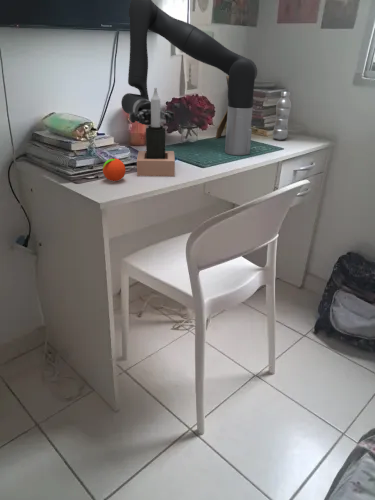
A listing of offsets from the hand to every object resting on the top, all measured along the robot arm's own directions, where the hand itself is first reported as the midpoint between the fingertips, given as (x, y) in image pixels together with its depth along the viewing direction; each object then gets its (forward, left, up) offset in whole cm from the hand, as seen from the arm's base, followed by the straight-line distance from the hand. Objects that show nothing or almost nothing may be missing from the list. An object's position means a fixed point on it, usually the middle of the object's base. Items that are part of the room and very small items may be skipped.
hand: (156, 120), depth 125 cm
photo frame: (-33, -54, -17) cm, 66 cm away
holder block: (0, -1, -16) cm, 17 cm away
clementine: (+13, +10, -17) cm, 24 cm away
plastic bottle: (-54, -48, -17) cm, 74 cm away
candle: (0, -1, -16) cm, 16 cm away
